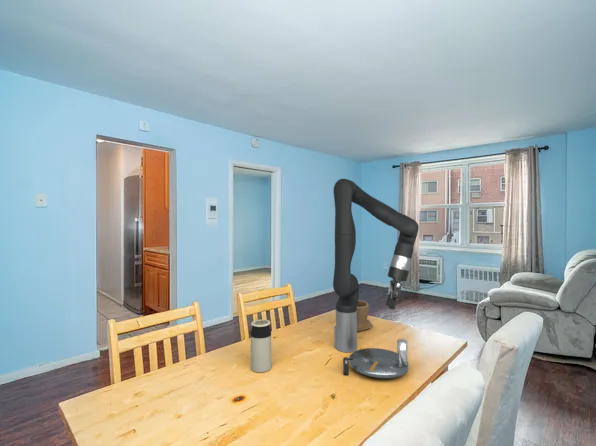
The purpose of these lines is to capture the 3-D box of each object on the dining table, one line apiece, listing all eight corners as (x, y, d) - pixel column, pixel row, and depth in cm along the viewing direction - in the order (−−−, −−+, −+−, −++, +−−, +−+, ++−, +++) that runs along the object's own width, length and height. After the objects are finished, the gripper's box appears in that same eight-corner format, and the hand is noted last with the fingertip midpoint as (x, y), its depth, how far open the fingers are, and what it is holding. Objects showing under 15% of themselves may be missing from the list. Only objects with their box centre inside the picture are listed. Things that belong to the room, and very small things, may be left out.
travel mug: (275, 367, 125) (275, 322, 124) (260, 375, 119) (259, 327, 118) (262, 361, 130) (262, 317, 130) (246, 368, 124) (246, 322, 124)
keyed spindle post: (342, 374, 119) (342, 358, 119) (373, 359, 131) (373, 344, 131) (370, 387, 109) (370, 370, 109) (400, 370, 122) (400, 354, 122)
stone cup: (355, 335, 158) (355, 305, 157) (341, 328, 168) (341, 300, 168) (379, 330, 164) (379, 301, 164) (365, 323, 175) (364, 296, 175)
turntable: (337, 362, 124) (337, 335, 123) (371, 347, 138) (371, 323, 138) (386, 385, 107) (386, 354, 107) (419, 364, 121) (419, 337, 121)
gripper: (387, 265, 136) (378, 302, 134) (392, 265, 122) (382, 307, 120) (405, 270, 134) (396, 307, 133) (412, 270, 120) (402, 312, 119)
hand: (389, 307), depth 126 cm, fingers open, 8 cm apart
